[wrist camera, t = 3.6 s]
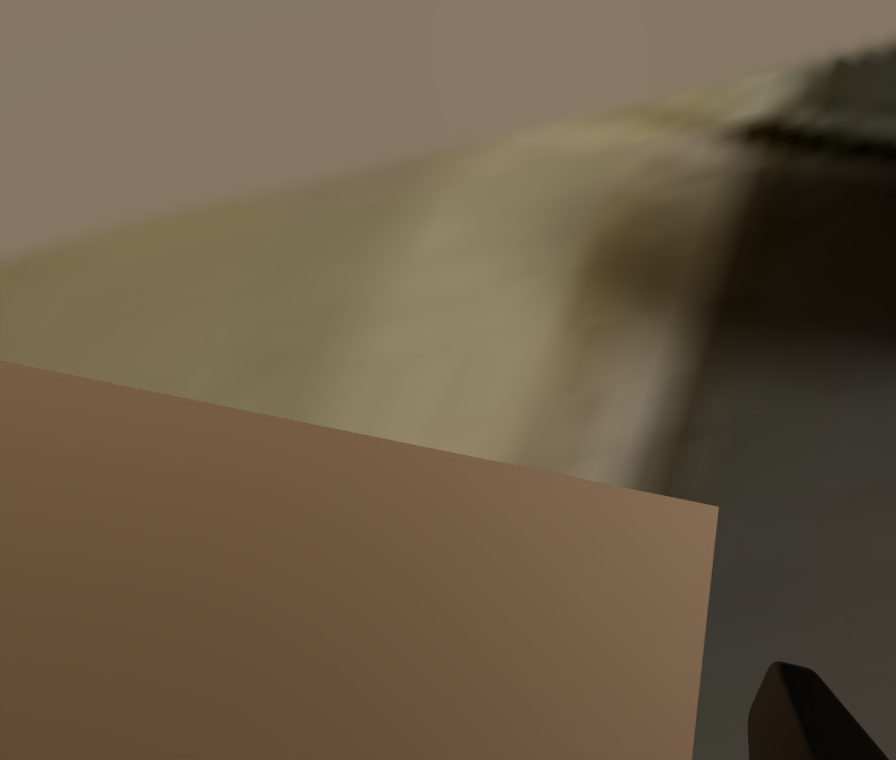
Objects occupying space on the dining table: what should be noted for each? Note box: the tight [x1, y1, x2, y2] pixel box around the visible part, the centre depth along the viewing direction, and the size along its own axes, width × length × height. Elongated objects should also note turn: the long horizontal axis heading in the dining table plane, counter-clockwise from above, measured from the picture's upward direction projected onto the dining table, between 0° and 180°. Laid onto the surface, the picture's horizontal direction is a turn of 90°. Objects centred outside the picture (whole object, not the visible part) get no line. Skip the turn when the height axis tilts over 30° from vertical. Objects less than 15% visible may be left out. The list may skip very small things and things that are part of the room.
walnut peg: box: [0, 361, 719, 760], centre depth 8 cm, size 4×4×13 cm
